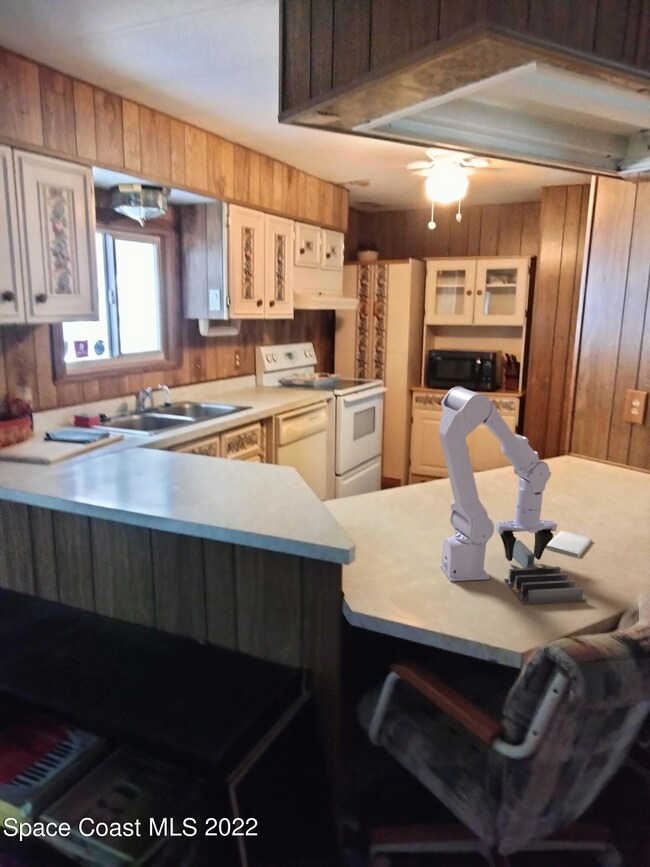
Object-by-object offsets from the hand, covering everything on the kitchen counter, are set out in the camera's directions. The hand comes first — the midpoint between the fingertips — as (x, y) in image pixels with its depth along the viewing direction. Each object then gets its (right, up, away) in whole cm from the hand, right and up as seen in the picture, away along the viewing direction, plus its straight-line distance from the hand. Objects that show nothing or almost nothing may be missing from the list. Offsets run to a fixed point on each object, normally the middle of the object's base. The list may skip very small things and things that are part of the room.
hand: (522, 558), depth 148 cm
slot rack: (+1, -5, -12) cm, 13 cm away
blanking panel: (0, -2, 0) cm, 2 cm away
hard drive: (+16, +1, +11) cm, 19 cm away
